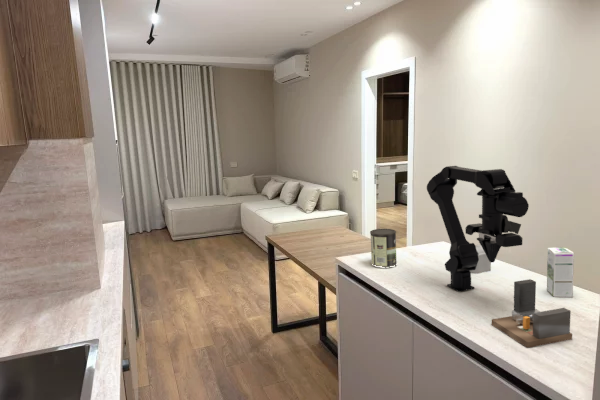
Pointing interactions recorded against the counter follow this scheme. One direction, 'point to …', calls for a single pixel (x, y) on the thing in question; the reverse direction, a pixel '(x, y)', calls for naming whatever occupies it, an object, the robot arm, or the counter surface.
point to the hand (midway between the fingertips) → (491, 261)
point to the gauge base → (523, 335)
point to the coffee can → (383, 247)
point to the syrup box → (560, 272)
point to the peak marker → (526, 322)
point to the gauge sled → (524, 300)
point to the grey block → (481, 262)
